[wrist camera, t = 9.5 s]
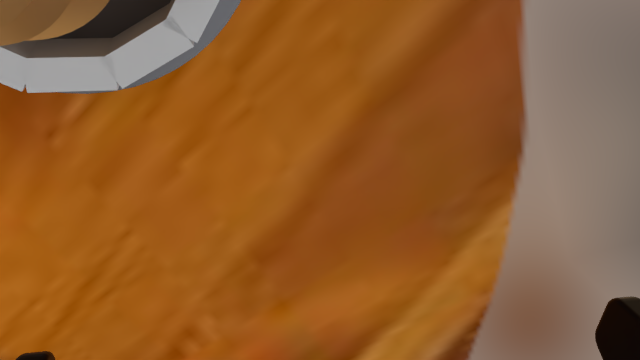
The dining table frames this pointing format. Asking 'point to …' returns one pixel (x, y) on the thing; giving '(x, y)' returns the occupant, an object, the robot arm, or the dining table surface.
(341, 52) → the dining table surface
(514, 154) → the dining table surface
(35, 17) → the beige tiered cylinder
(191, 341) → the dining table surface
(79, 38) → the grey shallow dish
